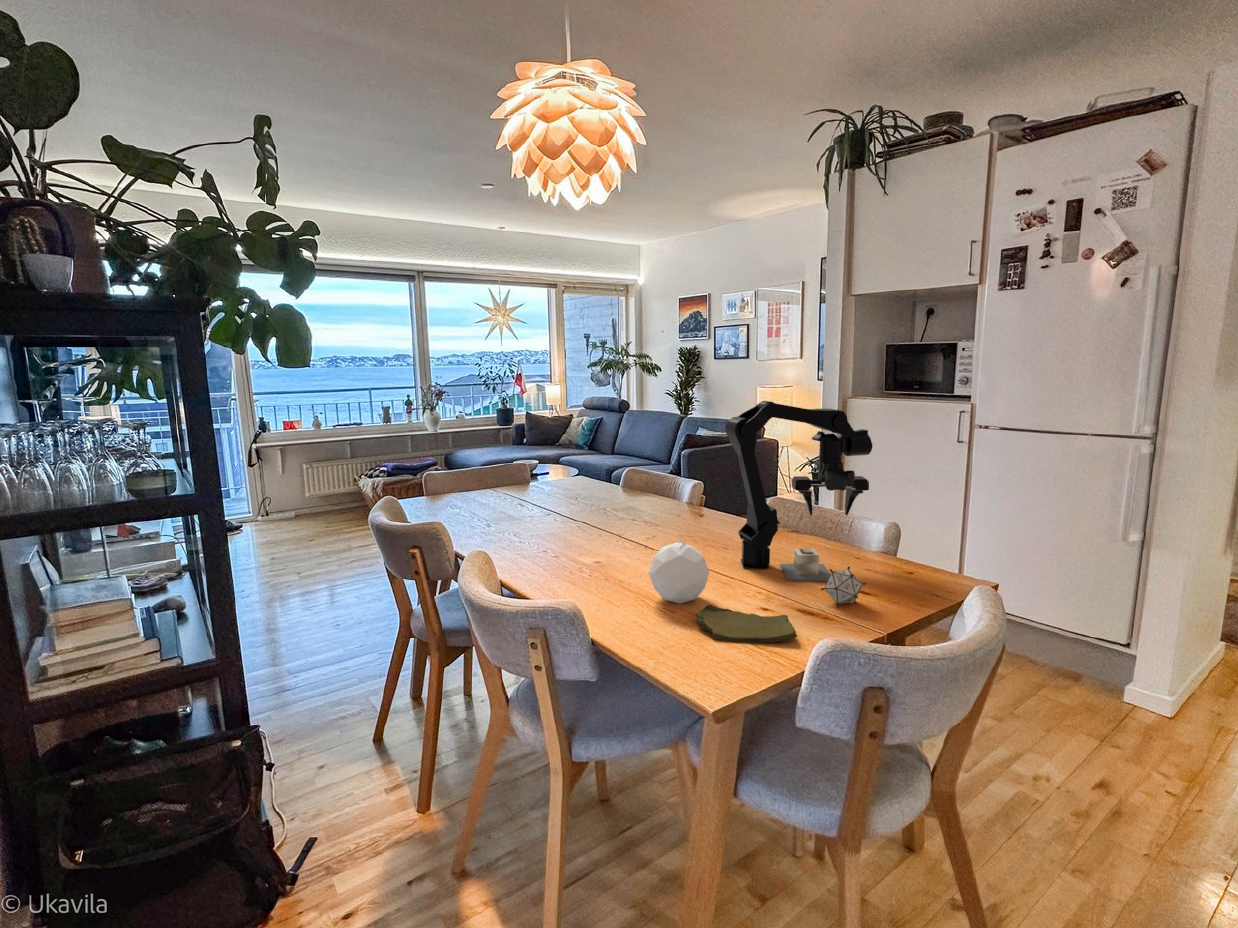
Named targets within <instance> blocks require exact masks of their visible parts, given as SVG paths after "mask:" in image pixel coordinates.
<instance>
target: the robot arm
mask: <svg viewBox="0 0 1238 928" xmlns="http://www.w3.org/2000/svg"><path fill="white" fill-rule="evenodd" d="M772 418H776V419H779V420H787V421H792V422H798V423H804V424H808V425H810V426H812V427H814V428H818V429H819V431H817V433H815V434H814V435H813V436H812V437H811V440H813V441H815V442H819V452H818V453H819V454H818V455H819V457H818V473H817V479H810V478H809V477H808V476H805V475H804V476H795V475H794V476H793V477H792V479H791V488H793V489H794V490H795V491H798V492H799V493H800V494H802V496H803V498H804V501H805V505H806V508H807V511H808V513H809V516H812V515H813V499H812V496H813V491H812V490H811V488H814V487H817V488H818V487H820V488H821V487H824V488H826V490H828V491H841V492H842V491H845V500H844V501H845V502H844V515H845V516H848V515H849V513H850V510H851V508H852V506H853V503H854V501H855V500H856V499H857V497H858V495H859V494H863V493H864V491H869V490H870V482H869V480H868V479H867V478H865V477H864V476H863V475H856V474H855V471H854V470H845V469H844V463H843V454H844V456H845V457H858V456H868V455H870V453H871V452H872V449H873V442H872V438H871V435H869V430H867V429H864V428H862V429H861V428H860V429H856V430H854V429H853V427H852V426H851V424H850V422H849V421H848V416H847V414H846V412H845V411H843V410H841V409H833V408H809V409H808V408H803V407H799V406H798V407H797V406H793V405H792V406H791V405H787V404H780V403H777V402H774V401H769V400H762V401H759V403H757V404H756V405H755V406H753V407H752V408H749V409H747V410H746V411H744V412H742V413H741V414H740V415H739V414H738V416H733V417H730V418H729V420H727V422H726V423H725V425H724V426H725V427H724V429H725V434H726V437H727V439H728V440H729V442H730V445H731V446H732V447H733V450H734V451H735V453H736V456H737V459H738V464H739V468H740V472H741V473H740V474H741V478H742V482H743V487H744V490H745V495H746V499H747V510H746V523H745V524H744V525H743V526H742V527H741V528H740V529H739V530H738V532H737V533H738V535H739V538H740V539H741V540H742V542H741V558H740V562H741V565H742V568H743V569H760V570H761V569H763V570H764V569H765V570H766V569H769V568H770V567H769V565H770V563H771V562H770V561H771V559H770V558H771V549H770V546H771V545H772V542H773V538H774V536H775V535H776V533H777V532H778V531H779V525H780V524H781V522H780V521H779V518H778V511H777V508H775V507H773V506H771V505H769V504H768V503H767V499H766V495H765V494H766V493H765V489H764V485H763V482H762V477H761V472H760V468H759V464H758V459H757V454H756V448H757V443H758V434H757V433H759V431H760V430H762V428H763V429H764V427H765V426H766V424H767V423H768V422H769V421H770V420H771V419H772ZM821 430H823V431H821ZM824 431H828V432H830V433H825V432H824ZM838 435H840V436H838Z"/></svg>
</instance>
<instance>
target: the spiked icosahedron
mask: <svg viewBox="0 0 1238 928" xmlns="http://www.w3.org/2000/svg"><path fill="white" fill-rule="evenodd" d="M850 568H851V567H850V565H848V566H847V568H846V569H843V570H835V571H833V569H831V568H830V569H829V573H830V574H831V575H830V577H829V579H828V581H826V584H825V585H824V587H821V588H820V590H821V591H825V592H826V593H827V594H828V595H829V596H830V597H831V598H832V600H834V601H835V602H836V608H839V607H840V604H847V603H852V602H853V603H854V604H855V605H858V601H856V599H859V597H858V595H859V594H860V591H861V589H862V587H863V586H866V585H867V583H866V582H861V580H860V579H859V578H858V577H857V576H856V575H855V574H854V573H853V572H852V571H851V570H850Z"/></svg>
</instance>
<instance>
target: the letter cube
mask: <svg viewBox="0 0 1238 928" xmlns="http://www.w3.org/2000/svg"><path fill="white" fill-rule="evenodd" d="M793 553H794V554H793V564H794V569H795V571H796V572H797V574H811V575H818V569H819V564H820V563H819V562H820V561H819V560H820V555H819V553H818V551H817V550H816V549H815V548H794V550H793Z"/></svg>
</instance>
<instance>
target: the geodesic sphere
mask: <svg viewBox="0 0 1238 928" xmlns="http://www.w3.org/2000/svg"><path fill="white" fill-rule="evenodd" d="M678 541H679V542H675V543H671V544H668V545H664V546H662V547H661V548H660V549H659V550H658V552H657V553H656V554H655V555H654V557H653V560H652V561H651V565H650V569H649V571H648V575H649V578H650V581H651V582H652V583H651V584H652V586H653V589H655V591H656V593H658V595H659V596H660V597H661V598H662V600H665V601H667V602H668V601H669V602H672V603H674V604H675V603H676V604H679V605H680V604H683V603H687V602H690V601H694V600H697V598H698V597H699V596H700V595H701V593H702V592H703V591H704V589H706V585H707V582H708V578H709V574H710V571H709V567H708V565H707V562H706V559H705V557H704V555H703V554H702V553H701V552H700V551H699V549H697V548H696V547H695V546H694V545H690V544H686V542H685V541H683V540H678Z"/></svg>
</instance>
